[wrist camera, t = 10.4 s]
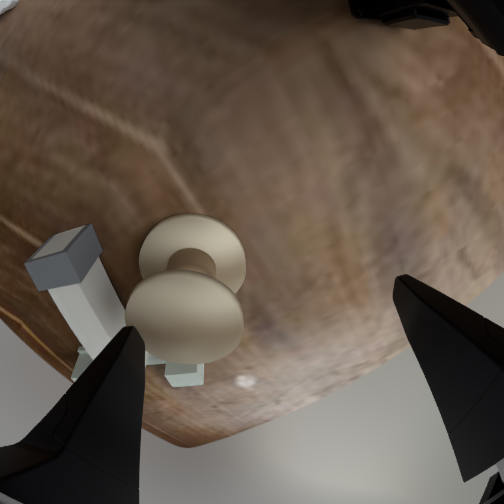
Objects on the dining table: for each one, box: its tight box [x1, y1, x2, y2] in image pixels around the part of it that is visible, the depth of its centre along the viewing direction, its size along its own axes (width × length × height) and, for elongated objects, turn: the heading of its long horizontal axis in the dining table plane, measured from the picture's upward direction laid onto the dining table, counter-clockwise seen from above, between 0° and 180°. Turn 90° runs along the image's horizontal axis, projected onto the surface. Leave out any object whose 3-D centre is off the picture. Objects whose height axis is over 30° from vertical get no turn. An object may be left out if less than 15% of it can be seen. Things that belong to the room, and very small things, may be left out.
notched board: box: [71, 346, 204, 387], centre depth 26 cm, size 3×14×4 cm, turn 100°
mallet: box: [24, 223, 149, 368], centre depth 21 cm, size 14×4×4 cm, turn 10°
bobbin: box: [125, 213, 246, 365], centre depth 19 cm, size 8×8×7 cm
